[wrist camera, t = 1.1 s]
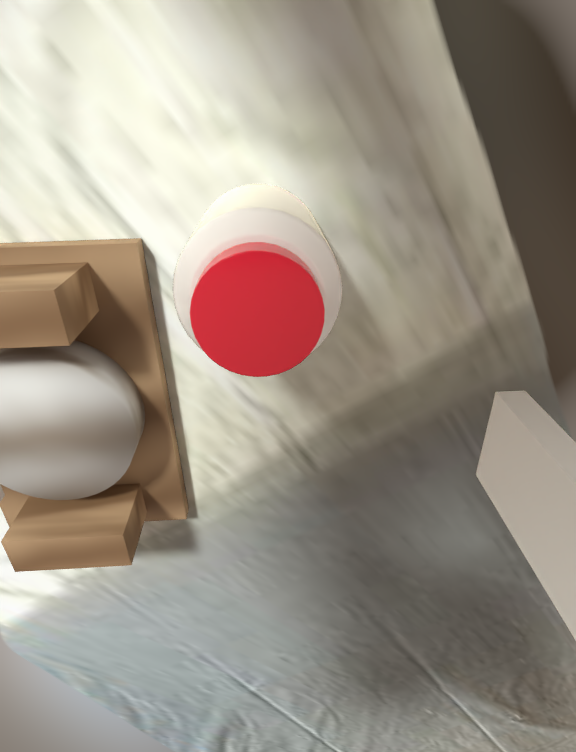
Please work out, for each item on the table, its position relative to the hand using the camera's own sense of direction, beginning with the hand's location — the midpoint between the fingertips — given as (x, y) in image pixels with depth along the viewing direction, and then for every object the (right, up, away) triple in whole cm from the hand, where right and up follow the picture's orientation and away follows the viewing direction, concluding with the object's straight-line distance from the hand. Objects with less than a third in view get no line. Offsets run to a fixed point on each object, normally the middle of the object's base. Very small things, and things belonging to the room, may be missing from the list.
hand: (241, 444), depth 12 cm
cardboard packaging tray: (-14, 0, +21) cm, 25 cm away
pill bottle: (-1, +10, +16) cm, 19 cm away
